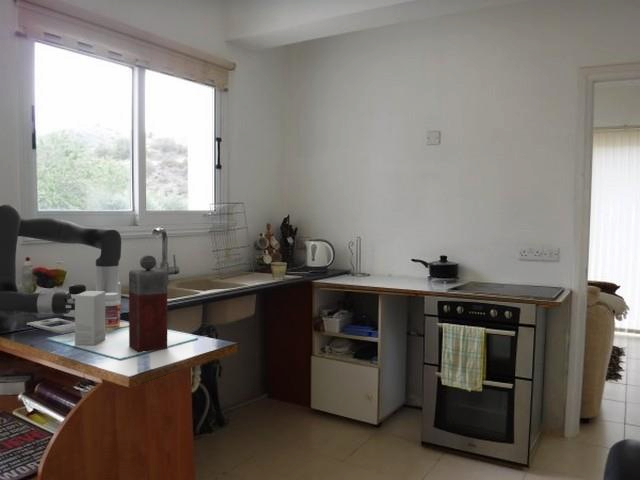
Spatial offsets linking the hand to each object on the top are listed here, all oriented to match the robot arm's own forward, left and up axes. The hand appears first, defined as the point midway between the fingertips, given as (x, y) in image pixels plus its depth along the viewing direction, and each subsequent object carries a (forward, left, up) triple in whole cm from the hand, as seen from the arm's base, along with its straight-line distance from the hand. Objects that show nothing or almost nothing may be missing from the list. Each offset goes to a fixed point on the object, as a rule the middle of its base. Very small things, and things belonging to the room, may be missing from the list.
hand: (102, 302), depth 184 cm
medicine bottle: (-6, -25, -9) cm, 27 cm away
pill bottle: (-2, +2, -8) cm, 9 cm away
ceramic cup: (-145, -33, -9) cm, 149 cm away
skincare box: (+15, +16, -9) cm, 24 cm away
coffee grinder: (+8, +34, -9) cm, 36 cm away
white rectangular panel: (+9, -12, -8) cm, 17 cm away
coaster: (-2, +2, -8) cm, 9 cm away
